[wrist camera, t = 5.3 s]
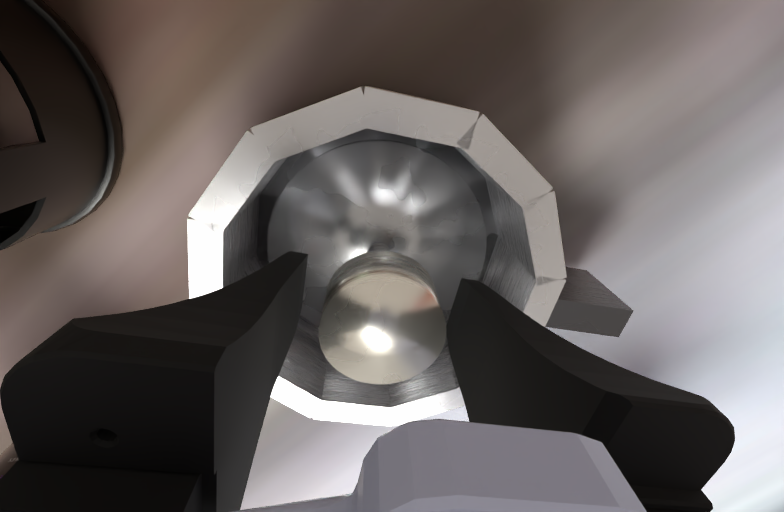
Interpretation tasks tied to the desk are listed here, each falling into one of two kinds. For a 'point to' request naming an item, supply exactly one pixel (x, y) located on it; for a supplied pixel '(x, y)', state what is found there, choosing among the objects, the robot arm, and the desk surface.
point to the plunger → (380, 253)
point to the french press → (54, 126)
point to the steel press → (493, 193)
